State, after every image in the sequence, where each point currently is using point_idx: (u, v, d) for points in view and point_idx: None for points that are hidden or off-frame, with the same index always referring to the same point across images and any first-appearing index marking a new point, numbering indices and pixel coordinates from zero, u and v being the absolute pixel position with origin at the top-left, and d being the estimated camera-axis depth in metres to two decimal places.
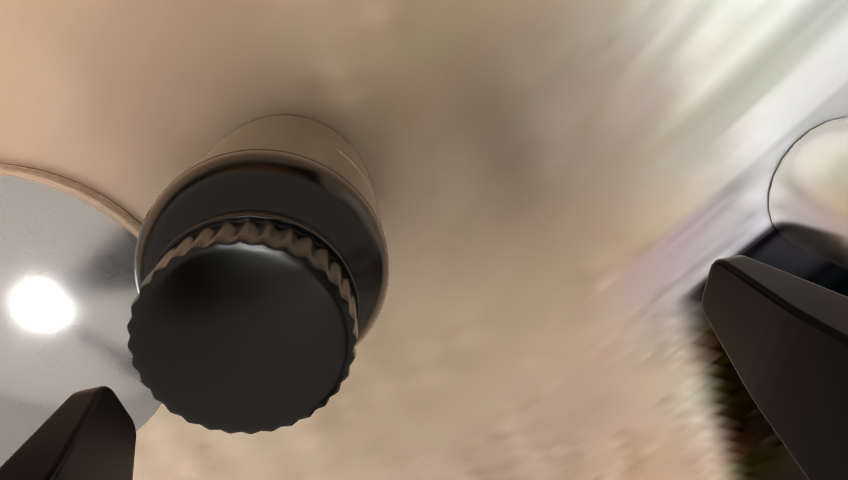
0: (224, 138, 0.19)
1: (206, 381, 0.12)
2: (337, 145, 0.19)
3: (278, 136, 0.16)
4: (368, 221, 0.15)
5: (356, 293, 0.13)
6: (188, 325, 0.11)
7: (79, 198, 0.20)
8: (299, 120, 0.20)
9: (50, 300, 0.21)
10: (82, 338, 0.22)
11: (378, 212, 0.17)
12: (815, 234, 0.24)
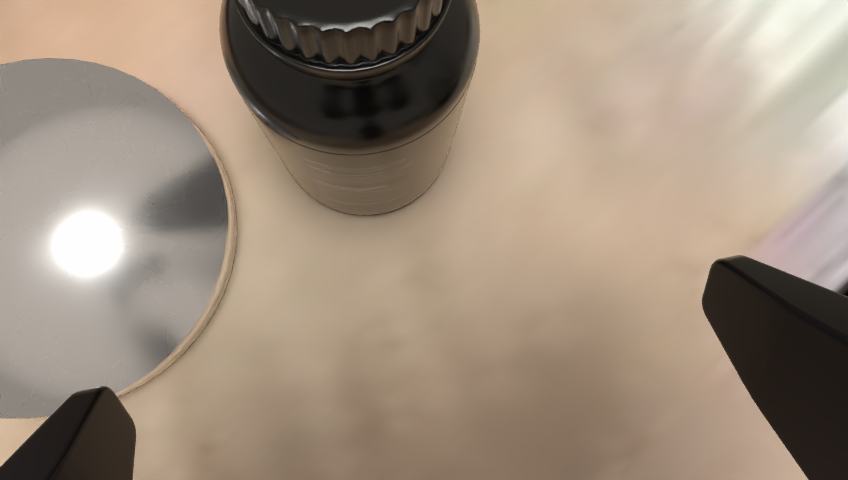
0: None
1: None
2: None
3: None
4: None
5: None
6: None
7: None
8: None
9: (103, 195, 0.20)
10: (119, 244, 0.20)
11: None
12: None
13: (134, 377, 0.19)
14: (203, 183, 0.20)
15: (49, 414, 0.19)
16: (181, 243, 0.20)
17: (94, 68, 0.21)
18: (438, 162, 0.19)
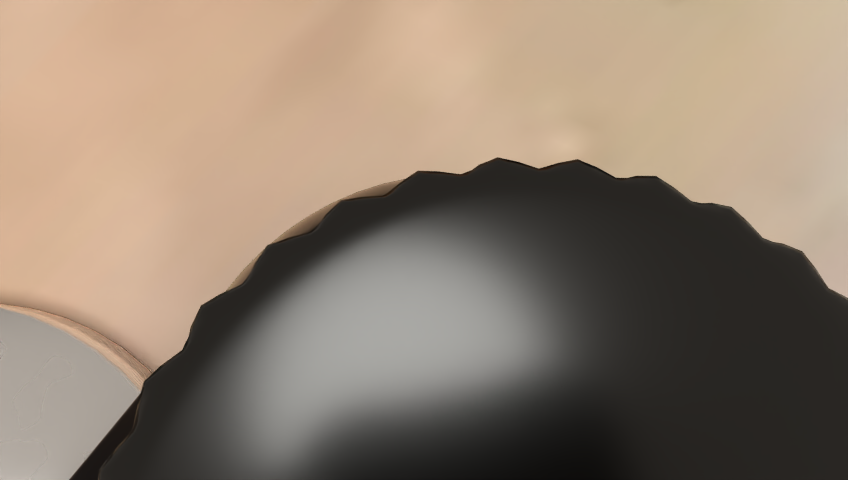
0: None
1: None
2: None
3: None
4: None
5: None
6: None
7: (110, 359, 0.13)
8: None
9: None
10: None
11: None
12: None
13: None
14: None
15: None
16: None
17: None
18: None
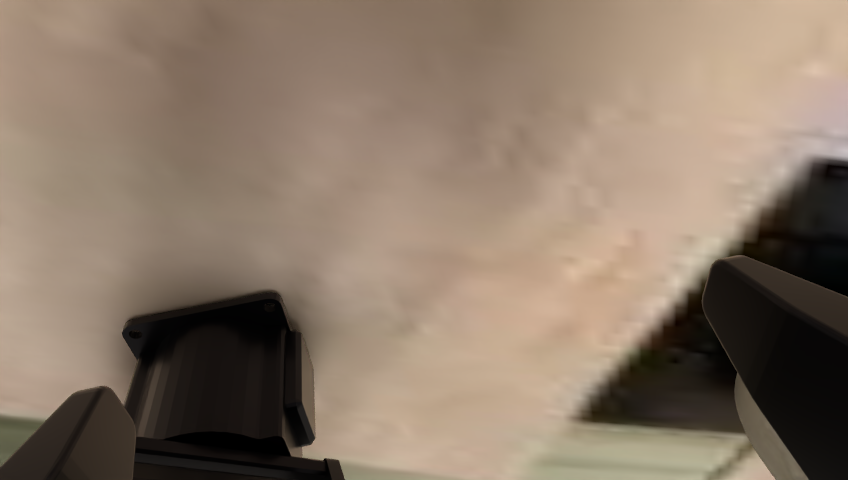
0: None
1: None
2: None
3: None
4: None
5: None
6: None
7: None
8: None
9: None
10: None
11: None
12: None
13: None
14: None
15: None
16: None
17: None
18: None
